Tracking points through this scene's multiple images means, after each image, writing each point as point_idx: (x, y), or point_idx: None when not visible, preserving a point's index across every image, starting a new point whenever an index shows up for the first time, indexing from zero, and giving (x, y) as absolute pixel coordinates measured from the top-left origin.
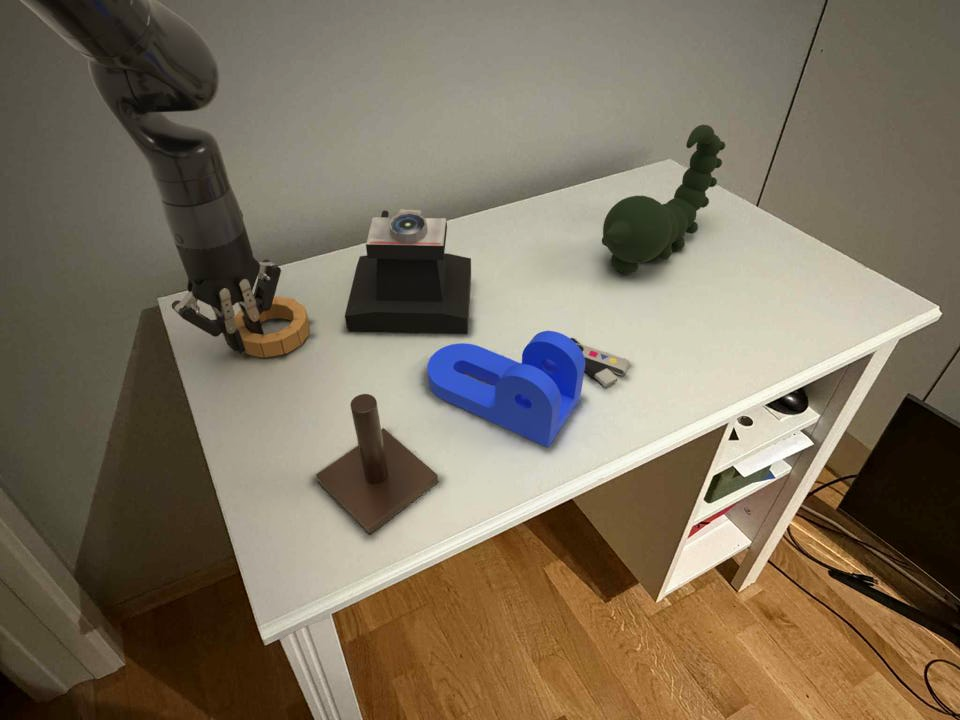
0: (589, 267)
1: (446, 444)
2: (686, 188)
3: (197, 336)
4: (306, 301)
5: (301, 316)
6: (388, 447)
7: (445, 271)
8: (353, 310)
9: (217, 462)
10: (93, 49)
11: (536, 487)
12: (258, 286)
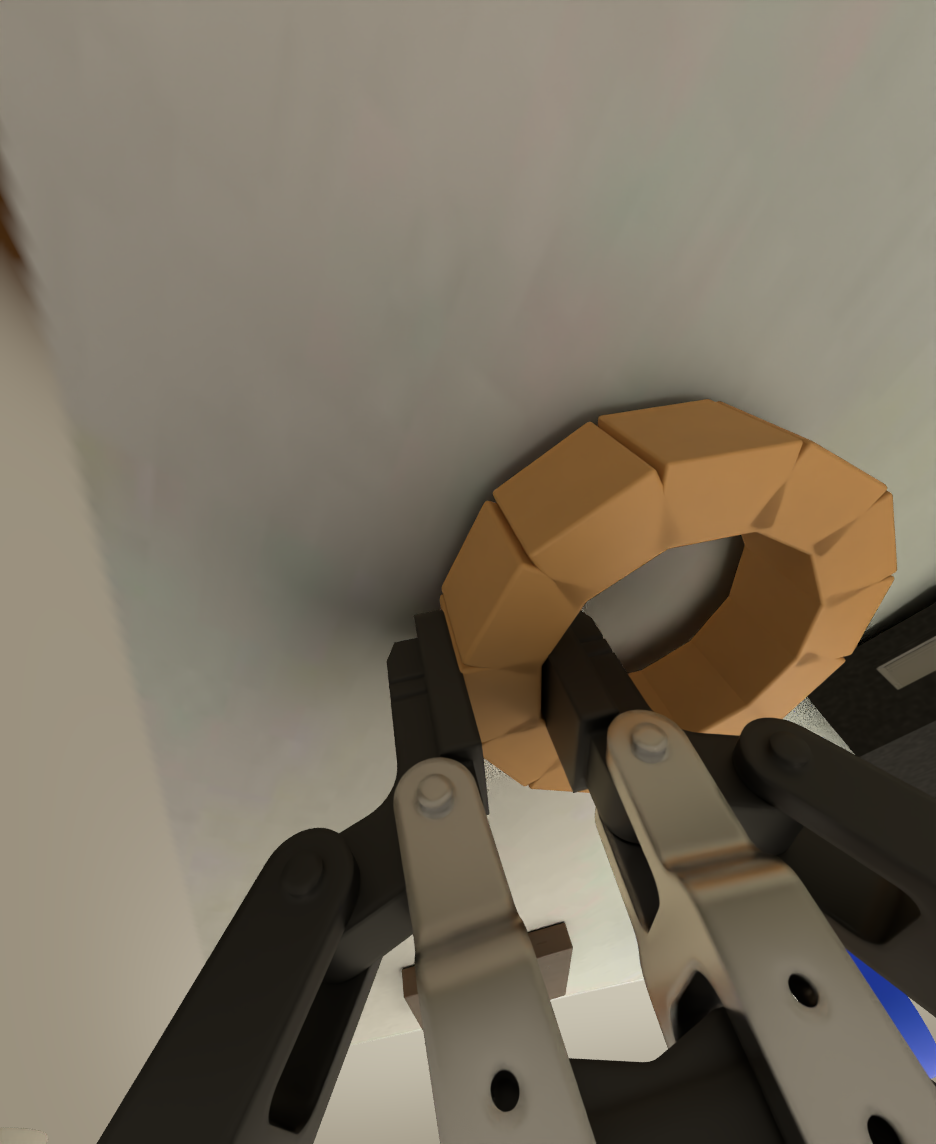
0: None
1: (620, 937)
2: None
3: (216, 301)
4: (914, 418)
5: (780, 704)
6: (547, 970)
7: None
8: (900, 760)
9: (201, 936)
10: None
11: (638, 976)
12: (925, 911)
